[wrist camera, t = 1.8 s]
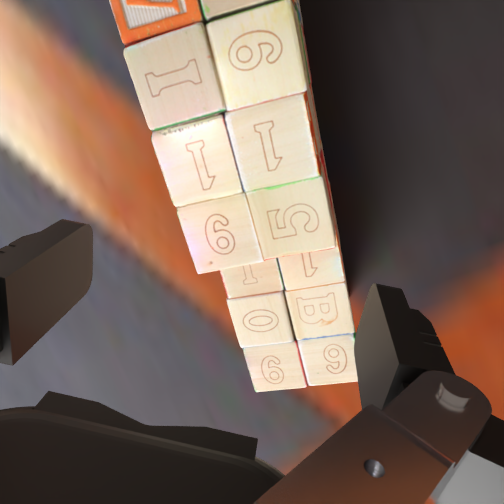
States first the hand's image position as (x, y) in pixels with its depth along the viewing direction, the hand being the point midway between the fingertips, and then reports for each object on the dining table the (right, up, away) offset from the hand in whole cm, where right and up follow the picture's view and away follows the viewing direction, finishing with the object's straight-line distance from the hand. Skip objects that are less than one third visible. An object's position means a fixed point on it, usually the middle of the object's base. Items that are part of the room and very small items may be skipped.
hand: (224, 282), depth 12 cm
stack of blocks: (+3, +7, +16) cm, 18 cm away
